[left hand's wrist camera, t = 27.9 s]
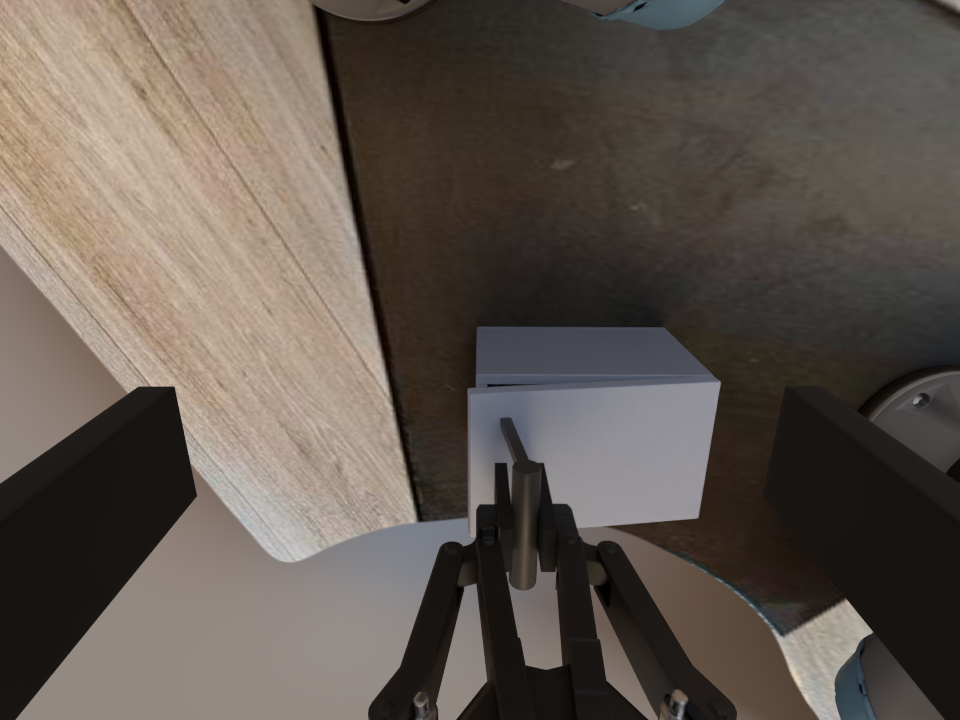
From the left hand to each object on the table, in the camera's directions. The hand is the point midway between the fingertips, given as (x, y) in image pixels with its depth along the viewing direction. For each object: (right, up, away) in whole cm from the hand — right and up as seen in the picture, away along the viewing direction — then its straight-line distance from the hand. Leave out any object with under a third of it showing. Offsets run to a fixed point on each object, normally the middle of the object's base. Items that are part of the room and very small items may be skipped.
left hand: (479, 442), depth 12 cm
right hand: (+2, -6, +23) cm, 24 cm away
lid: (+7, -5, +26) cm, 28 cm away
